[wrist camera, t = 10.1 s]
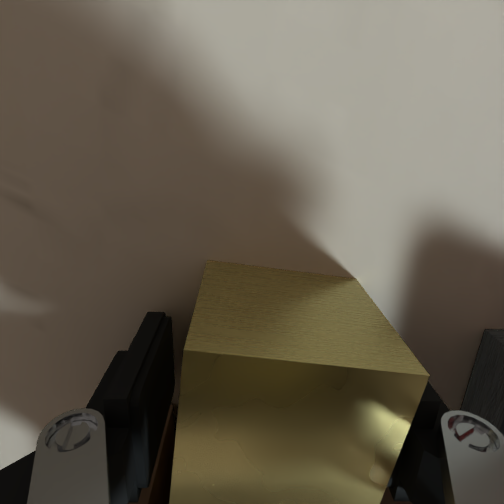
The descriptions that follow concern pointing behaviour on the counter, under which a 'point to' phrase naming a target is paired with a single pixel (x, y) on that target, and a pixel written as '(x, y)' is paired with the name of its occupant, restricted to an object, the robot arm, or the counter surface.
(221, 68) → the counter surface
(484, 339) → the v block
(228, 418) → the bar
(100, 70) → the counter surface
